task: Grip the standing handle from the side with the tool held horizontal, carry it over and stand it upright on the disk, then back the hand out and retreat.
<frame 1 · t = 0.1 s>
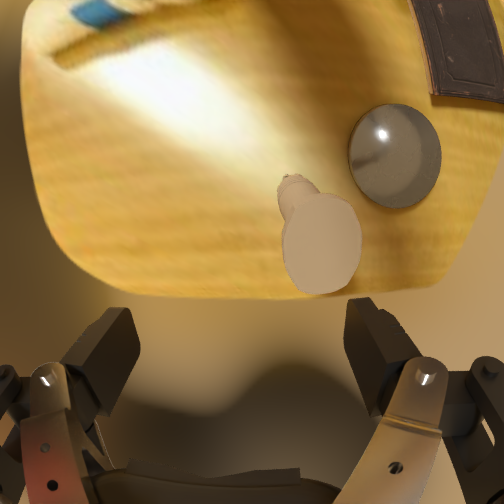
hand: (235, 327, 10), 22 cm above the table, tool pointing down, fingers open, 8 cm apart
hardcover book: (452, 20, 19), on the table
disk: (395, 155, 28), on the table
handle: (292, 186, 30), on the table
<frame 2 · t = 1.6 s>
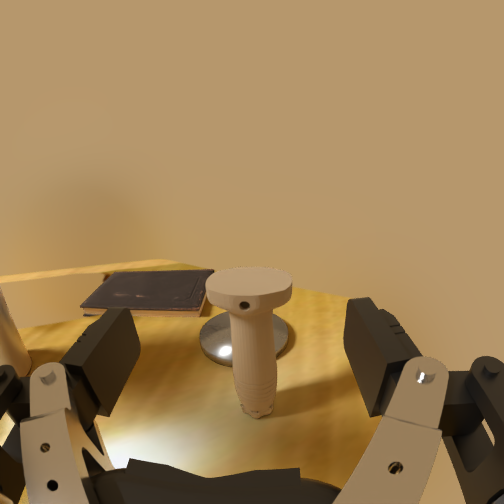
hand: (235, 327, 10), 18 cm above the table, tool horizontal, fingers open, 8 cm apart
hardcover book: (151, 298, 52), on the table
disk: (244, 338, 38), on the table
handle: (257, 409, 26), on the table
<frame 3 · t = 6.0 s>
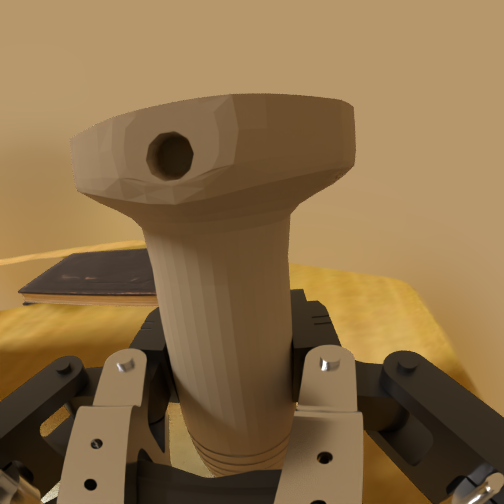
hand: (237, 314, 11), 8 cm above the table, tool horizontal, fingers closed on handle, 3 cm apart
hardcover book: (108, 283, 36), on the table
handle: (251, 477, 11), on the table, touching gripper
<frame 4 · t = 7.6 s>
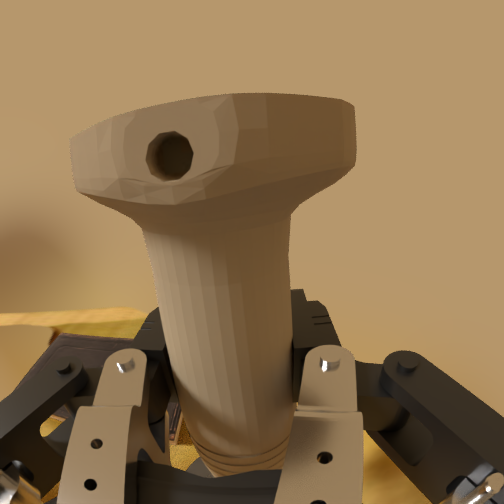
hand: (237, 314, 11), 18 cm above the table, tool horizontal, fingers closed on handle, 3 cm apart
hardcover book: (106, 386, 29), on the table
disk: (255, 499, 16), on the table
handle: (251, 477, 11), point 9 cm above the table, touching gripper
when the fingers open (11 cm above the table, at t = 9.4 s): handle drops 1 cm, resting on disk.
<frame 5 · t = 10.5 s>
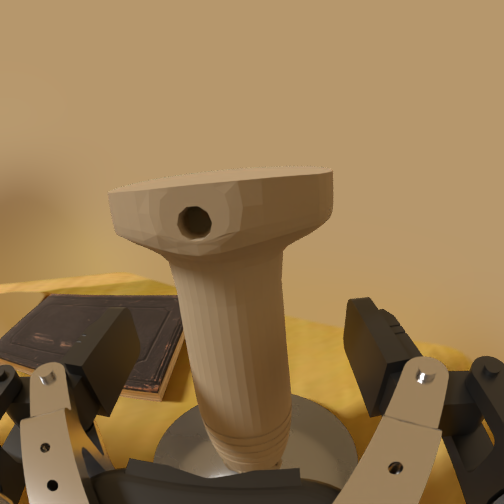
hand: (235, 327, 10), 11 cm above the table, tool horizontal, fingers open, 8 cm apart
hardcover book: (91, 344, 27), on the table
disk: (255, 467, 14), on the table
handle: (254, 462, 13), point 1 cm above the table, touching disk
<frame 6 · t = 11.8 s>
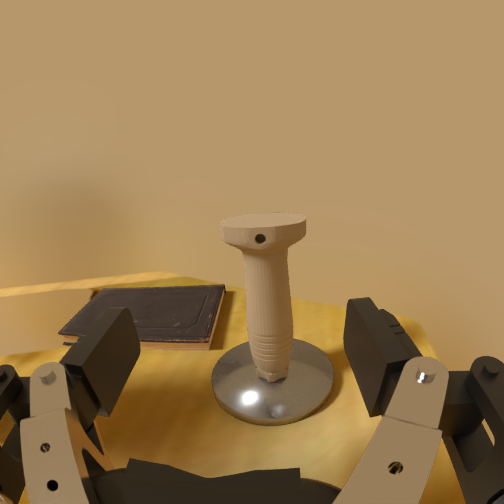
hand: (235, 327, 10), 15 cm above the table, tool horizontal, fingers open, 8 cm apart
hardcover book: (146, 322, 40), on the table
disk: (272, 380, 27), on the table
handle: (272, 374, 26), point 1 cm above the table, touching disk
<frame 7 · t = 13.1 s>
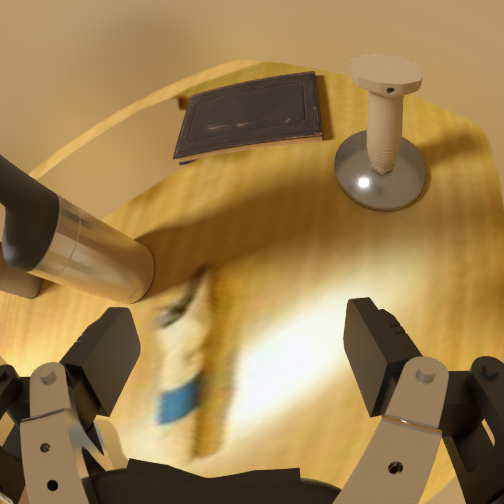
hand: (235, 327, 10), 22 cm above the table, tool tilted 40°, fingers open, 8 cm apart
hardcover book: (250, 117, 43), on the table
pillar candle: (34, 279, 49), on the table
disk: (380, 169, 33), on the table
handle: (381, 166, 32), point 1 cm above the table, touching disk
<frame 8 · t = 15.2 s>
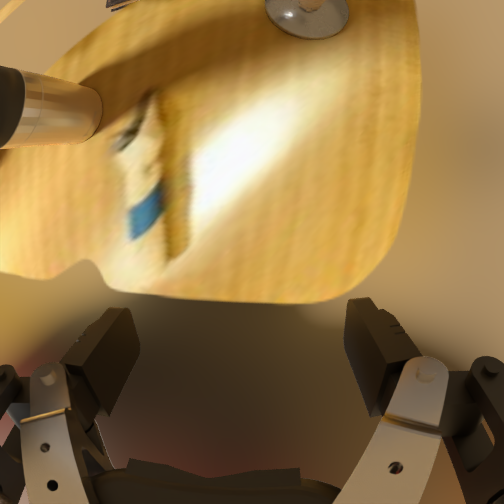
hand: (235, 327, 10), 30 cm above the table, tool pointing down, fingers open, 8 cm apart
disk: (306, 7, 28), on the table
handle: (308, 5, 28), point 1 cm above the table, touching disk
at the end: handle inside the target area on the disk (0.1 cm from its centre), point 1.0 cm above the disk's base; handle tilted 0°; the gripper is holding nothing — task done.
